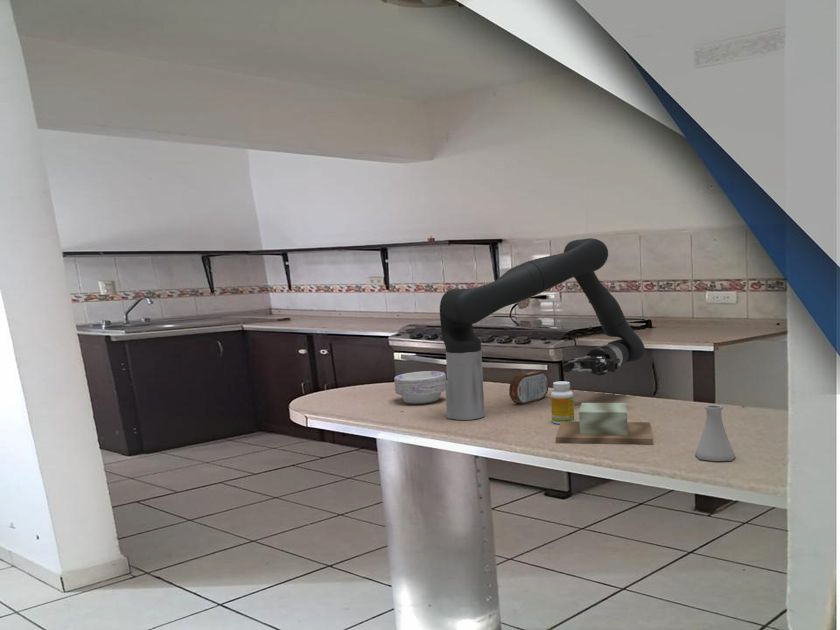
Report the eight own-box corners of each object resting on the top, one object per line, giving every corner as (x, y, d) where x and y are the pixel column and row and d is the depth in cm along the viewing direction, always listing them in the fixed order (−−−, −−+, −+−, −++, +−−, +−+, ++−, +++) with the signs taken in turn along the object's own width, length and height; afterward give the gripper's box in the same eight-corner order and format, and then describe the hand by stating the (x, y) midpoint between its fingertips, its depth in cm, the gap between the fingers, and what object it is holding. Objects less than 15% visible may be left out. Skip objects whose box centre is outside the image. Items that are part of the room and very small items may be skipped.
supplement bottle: (574, 424, 167) (572, 384, 167) (551, 424, 169) (549, 384, 168) (574, 419, 173) (572, 380, 172) (552, 419, 174) (550, 380, 173)
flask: (736, 463, 130) (735, 410, 130) (694, 461, 133) (693, 409, 132) (734, 453, 137) (733, 402, 136) (695, 451, 140) (693, 402, 139)
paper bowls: (387, 400, 210) (386, 374, 210) (433, 394, 217) (432, 368, 216) (408, 409, 197) (406, 380, 196) (456, 401, 203) (454, 374, 202)
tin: (542, 396, 204) (541, 367, 203) (551, 397, 202) (550, 368, 201) (508, 405, 194) (507, 375, 193) (517, 406, 191) (516, 376, 191)
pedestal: (555, 442, 152) (554, 414, 152) (561, 426, 166) (560, 400, 166) (653, 444, 146) (652, 415, 146) (650, 427, 161) (649, 400, 160)
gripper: (579, 345, 196) (554, 353, 183) (629, 346, 187) (606, 355, 174) (580, 371, 196) (555, 382, 183) (630, 373, 188) (608, 385, 175)
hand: (580, 369), depth 179 cm, fingers open, 8 cm apart
